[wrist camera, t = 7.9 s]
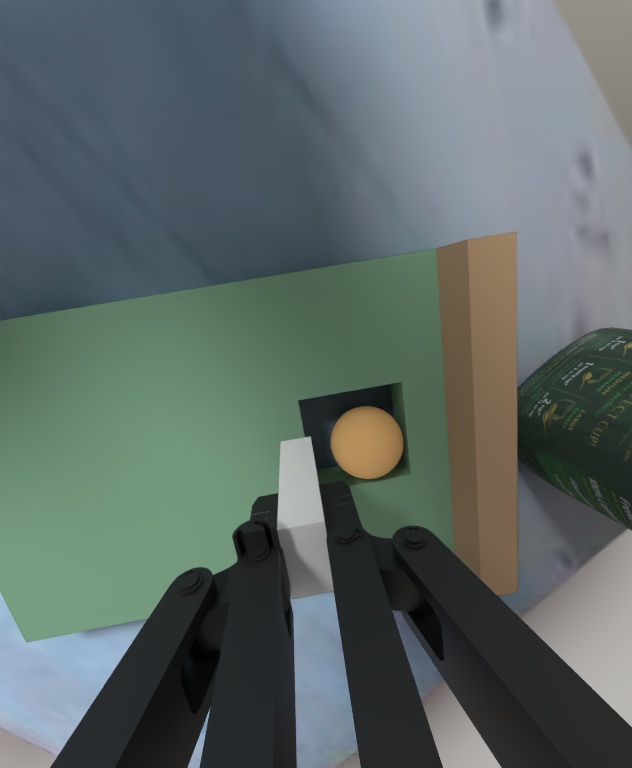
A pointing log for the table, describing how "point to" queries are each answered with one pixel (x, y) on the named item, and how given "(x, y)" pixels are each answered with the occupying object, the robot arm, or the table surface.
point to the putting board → (249, 423)
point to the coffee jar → (582, 422)
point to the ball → (367, 442)
